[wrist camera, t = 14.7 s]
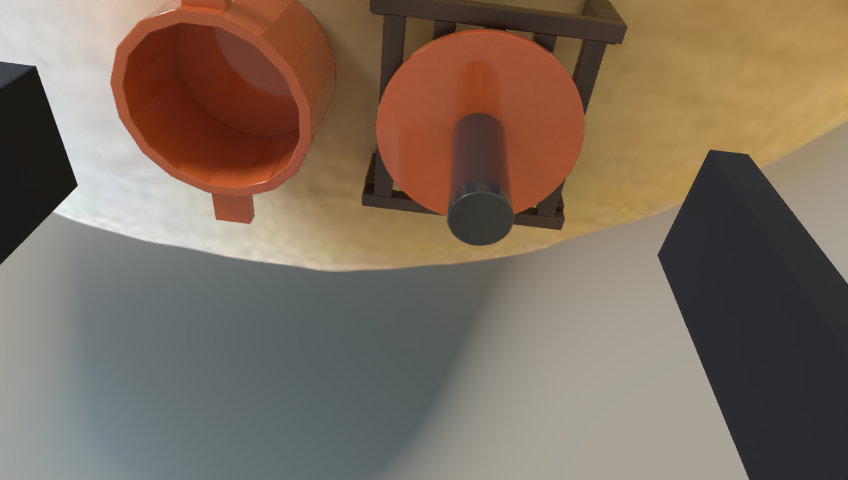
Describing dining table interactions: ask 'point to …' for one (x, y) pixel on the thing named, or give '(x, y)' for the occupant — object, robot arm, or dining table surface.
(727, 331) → the robot arm
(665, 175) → the dining table surface
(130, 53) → the pot
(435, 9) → the rack
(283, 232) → the dining table surface
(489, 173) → the lid
